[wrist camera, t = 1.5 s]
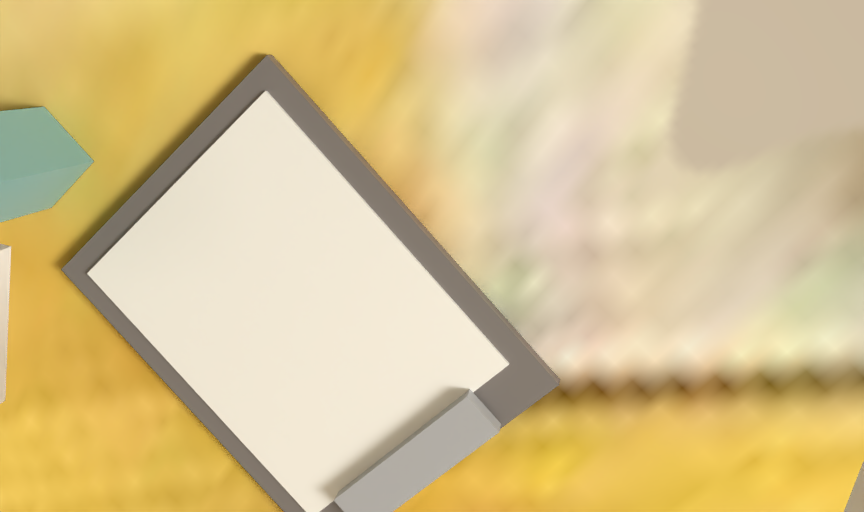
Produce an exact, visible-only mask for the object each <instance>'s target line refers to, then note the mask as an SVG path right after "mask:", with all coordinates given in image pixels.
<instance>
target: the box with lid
mask: <svg viewBox="0 0 864 512" xmlns="http://www.w3.org/2000/svg"><path fill="white" fill-rule="evenodd" d="M93 162H94V161H93V160H92V159H91V158H90V157H89V155H88V154H87V153H86V152H85V151H84V150H83V149H82V148H81V147H80V146H79V144H78V143H77V142H76V141H75V140H74V139H73V138H72V137H71V136H70V135H69V133H68V132H67V131H66V130H65V129H64V128H63V127H62V126H61V125H60V124H59V122H58V121H57V120H56V119H55V118H54V117H53V116H52V115H51V114H50V113H49V111H48V110H47V109H46V108H45V107H36V108H26V109H16V110H6V111H0V222H3V221H7V220H10V219H14V218H17V217H21V216H24V215H28V214H31V213H35V212H38V211H42V210H45V209H48V208H52V206H53V205H54V204H55V203H56V202H57V201H58V200H59V199H60V198H61V197H62V196H63V194H64V193H65V192H66V191H67V190H68V189H69V188H70V187H71V186H72V185H73V184H74V183H75V181H76V180H77V179H78V178H79V177H80V176H81V175H82V174H83V173H84V172H85V171H86V169H87V168H88V167H89V166H90V165H91V164H92V163H93Z"/></svg>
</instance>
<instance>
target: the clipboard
mask: <svg viewBox="0 0 864 512" xmlns="http://www.w3.org/2000/svg"><path fill="white" fill-rule="evenodd" d="M61 270H62V271H63V272H64V273H65V274H66V275H67V276H68V278H69V279H70V280H71V281H72V282H73V283H74V284H75V285H76V286H77V287H78V288H79V290H80V291H81V292H82V293H83V294H84V295H85V296H86V297H87V298H88V299H89V300H90V301H91V303H92V304H93V305H94V306H95V307H96V308H97V309H98V310H99V311H100V312H101V313H102V314H103V316H104V317H105V318H106V319H107V320H108V321H109V322H110V323H111V324H112V325H113V326H114V328H115V329H116V330H117V331H118V332H119V333H120V334H121V335H122V336H123V337H124V338H125V339H126V341H127V342H128V343H129V344H130V345H131V346H132V347H133V348H134V349H135V350H136V351H137V352H138V354H139V355H140V356H141V357H142V358H143V359H144V360H145V361H146V362H147V363H148V364H149V365H150V367H151V368H152V369H153V370H154V371H155V372H156V373H157V374H158V375H159V376H160V377H161V379H162V380H163V381H164V382H165V383H166V384H167V385H168V386H169V387H170V388H171V389H172V390H173V392H174V393H175V394H176V395H177V396H178V397H179V398H180V399H181V400H182V401H183V402H184V403H185V405H186V406H187V407H188V408H189V409H190V410H191V411H192V412H193V413H194V414H195V415H196V417H197V418H198V419H199V420H200V421H201V422H202V423H203V424H204V425H205V426H206V427H207V428H208V430H209V431H210V432H211V433H212V434H213V435H214V436H215V437H216V438H217V439H218V440H219V441H220V443H221V444H222V445H223V446H224V447H225V448H226V449H227V450H228V451H229V452H230V453H231V455H232V456H233V457H234V458H235V459H236V460H237V461H238V462H239V463H240V464H241V465H242V466H243V468H244V469H245V470H246V471H247V472H248V473H249V474H250V475H251V476H252V477H253V478H254V479H255V481H256V482H257V483H258V484H259V485H260V486H261V487H262V488H263V489H264V490H265V491H266V492H267V494H268V495H269V496H270V497H271V498H272V499H273V500H274V501H275V502H276V503H277V504H278V506H279V507H280V508H281V509H282V510H283V511H284V512H393V511H394V510H396V509H397V508H398V507H400V506H401V505H402V504H404V503H405V502H406V501H408V500H409V499H410V498H412V497H413V496H414V495H416V494H417V493H418V492H420V491H421V490H422V489H424V488H425V487H426V486H428V485H429V484H430V483H432V482H433V481H434V480H436V479H437V478H438V477H440V476H441V475H442V474H444V473H445V472H447V471H448V470H449V469H451V468H452V467H453V466H455V465H456V464H457V463H459V462H460V461H461V460H463V459H464V458H465V457H467V456H468V455H469V454H471V453H472V452H473V451H475V450H476V449H477V448H479V447H480V446H481V445H483V444H484V443H485V442H487V441H488V440H489V439H491V438H492V437H493V436H495V435H496V434H497V433H499V431H500V429H501V428H502V427H503V426H505V425H506V424H507V423H509V422H510V421H511V420H513V419H514V418H515V417H517V416H518V415H519V414H521V413H522V412H523V411H525V410H526V409H527V408H529V407H530V406H531V405H533V404H534V403H535V402H537V401H538V400H539V399H541V398H542V397H543V396H545V395H546V394H547V393H549V392H550V391H551V390H553V389H554V388H555V387H557V386H558V385H559V381H560V379H559V378H558V377H557V376H556V375H555V373H554V372H553V371H552V370H551V369H550V368H549V367H548V366H547V364H546V363H545V362H544V361H543V360H542V359H541V358H540V357H539V355H538V354H537V353H536V352H535V351H534V350H533V349H532V348H531V346H530V345H529V344H528V343H527V342H526V341H525V340H524V338H523V337H522V336H521V335H520V334H519V333H518V332H517V331H516V329H515V328H514V327H513V326H512V325H511V324H510V323H509V322H508V320H507V319H506V318H505V317H504V316H503V315H502V314H501V313H500V311H499V310H498V309H497V308H496V307H495V306H494V305H493V304H492V302H491V301H490V300H489V299H488V298H487V297H486V296H485V294H484V293H483V292H482V291H481V290H480V289H479V288H478V287H477V285H476V284H475V283H474V282H473V281H472V280H471V279H470V278H469V276H468V275H467V274H466V273H465V272H464V271H463V270H462V269H461V267H460V266H459V265H458V264H457V263H456V262H455V261H454V260H453V258H452V257H451V256H450V255H449V254H448V253H447V252H446V250H445V249H444V248H443V247H442V246H441V245H440V244H439V243H438V241H437V240H436V239H435V238H434V237H433V236H432V235H431V234H430V232H429V231H428V230H427V229H426V228H425V227H424V226H423V225H422V223H421V222H420V221H419V220H418V219H417V218H416V217H415V216H414V214H413V213H412V212H411V211H410V210H409V209H408V208H407V207H406V205H405V204H404V203H403V202H402V201H401V200H400V199H399V197H398V196H397V195H396V194H395V193H394V192H393V191H392V190H391V188H390V187H389V186H388V185H387V184H386V183H385V182H384V181H383V179H382V178H381V177H380V176H379V175H378V174H377V173H376V172H375V170H374V169H373V168H372V167H371V166H370V165H369V164H368V163H367V161H366V160H365V159H364V158H363V157H362V156H361V155H360V153H359V152H358V151H357V150H356V149H355V148H354V147H353V146H352V144H351V143H350V142H349V141H348V140H347V139H346V138H345V137H344V135H343V134H342V133H341V132H340V131H339V130H338V129H337V128H336V126H335V125H334V124H333V123H332V122H331V121H330V120H329V119H328V117H327V116H326V115H325V114H324V113H323V112H322V111H321V109H320V108H319V107H318V106H317V105H316V104H315V103H314V102H313V100H312V99H311V98H310V97H309V96H308V95H307V94H306V93H305V91H304V90H303V89H302V88H301V87H300V86H299V85H298V84H297V82H296V81H295V80H294V79H293V78H292V77H291V76H290V75H289V73H288V72H287V71H286V70H285V69H284V68H283V67H282V65H281V64H280V63H279V62H278V61H277V60H276V59H275V58H274V56H273V55H266V57H265V58H264V59H263V60H262V61H261V62H260V63H259V64H258V65H257V66H256V67H255V68H254V69H253V70H252V71H251V72H250V73H249V74H248V75H247V76H246V77H245V78H244V79H243V81H242V82H241V83H240V84H239V85H238V86H237V87H236V88H235V89H234V90H233V91H232V92H231V93H230V94H229V95H228V96H227V97H226V98H225V99H224V100H223V101H222V102H221V103H220V104H219V106H218V107H217V108H216V109H215V110H214V111H213V112H212V113H211V114H210V115H209V116H208V117H207V118H206V119H205V120H204V121H203V122H202V123H201V124H200V125H199V126H198V127H197V128H196V129H195V131H194V132H193V133H192V134H191V135H190V136H189V137H188V138H187V139H186V140H185V141H184V142H183V143H182V144H181V145H180V146H179V147H178V148H177V149H176V150H175V151H174V152H173V153H172V155H171V156H170V157H169V158H168V159H167V160H166V161H165V162H164V163H163V164H162V165H161V166H160V167H159V168H158V169H157V170H156V171H155V172H154V173H153V174H152V175H151V176H150V177H149V178H148V180H147V181H146V182H145V183H144V184H143V185H142V186H141V187H140V188H139V189H138V190H137V191H136V192H135V193H134V194H133V195H132V196H131V197H130V198H129V199H128V200H127V201H126V202H125V204H124V205H123V206H122V207H121V208H120V209H119V210H118V211H117V212H116V213H115V214H114V215H113V216H112V217H111V218H110V219H109V220H108V221H107V222H106V223H105V224H104V225H103V226H102V227H101V229H100V230H99V231H98V232H97V233H96V234H95V235H94V236H93V237H92V238H91V239H90V240H89V241H88V242H87V243H86V244H85V245H84V246H83V247H82V248H81V249H80V250H79V251H78V252H77V254H76V255H75V256H74V257H73V258H72V259H71V260H70V261H69V262H68V263H67V264H66V265H65V266H64V267H63V268H62V269H61Z"/></svg>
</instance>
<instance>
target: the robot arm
mask: <svg viewBox="0 0 864 512" xmlns="http://www.w3.org/2000/svg"><path fill="white" fill-rule="evenodd" d="M10 262H11V246H7V245H3V244H0V404H1V403H2V402H4V401H5V393H6V367H7V340H8V314H9V288H10ZM844 512H864V462H863V464H862V467H861V469H860V472H859V474H858V477H857V479H856V482H855V485H854V487H853V490H852V492H851V495H850V497H849V500H848V503H847V505H846V508H845V510H844Z"/></svg>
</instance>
